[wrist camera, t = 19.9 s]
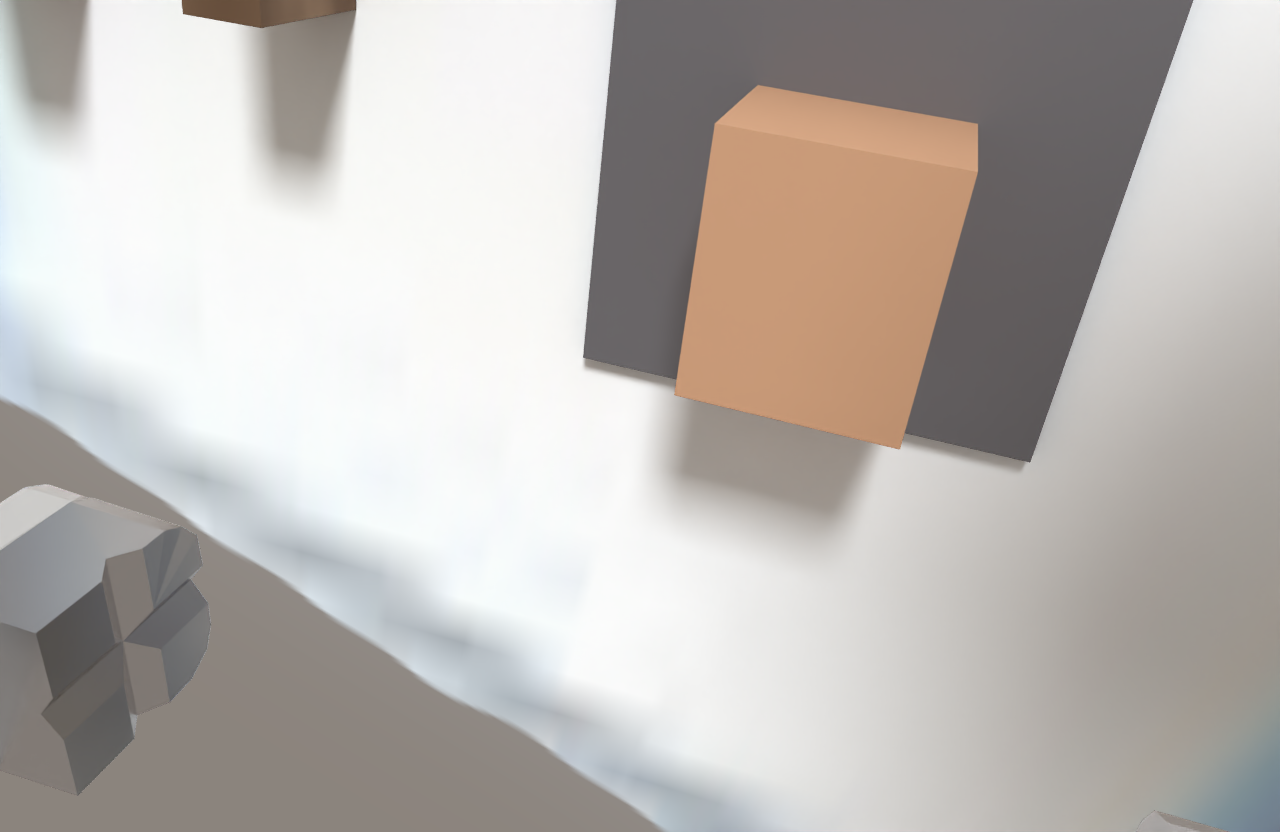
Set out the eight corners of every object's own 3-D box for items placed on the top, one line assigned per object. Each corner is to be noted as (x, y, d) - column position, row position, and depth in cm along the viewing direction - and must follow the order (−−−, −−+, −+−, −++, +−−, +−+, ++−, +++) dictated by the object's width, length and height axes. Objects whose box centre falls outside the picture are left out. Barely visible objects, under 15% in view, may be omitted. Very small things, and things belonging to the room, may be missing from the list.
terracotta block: (978, 123, 22) (978, 172, 19) (911, 364, 25) (899, 449, 22) (758, 85, 23) (715, 123, 20) (718, 321, 26) (674, 394, 23)
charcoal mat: (1209, -58, 20) (1213, -57, 20) (1029, 454, 26) (1030, 462, 26) (634, -134, 22) (629, -134, 22) (588, 351, 28) (583, 357, 28)
